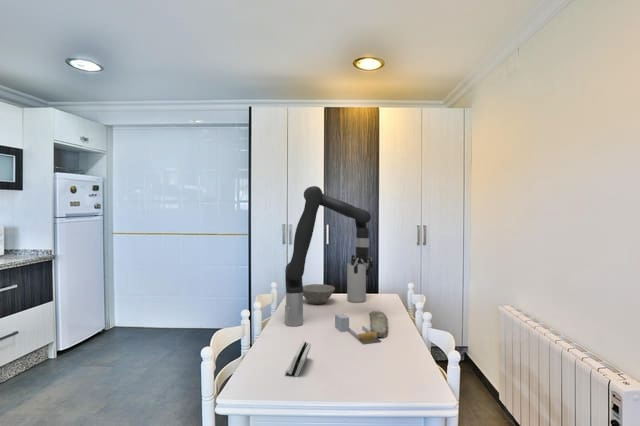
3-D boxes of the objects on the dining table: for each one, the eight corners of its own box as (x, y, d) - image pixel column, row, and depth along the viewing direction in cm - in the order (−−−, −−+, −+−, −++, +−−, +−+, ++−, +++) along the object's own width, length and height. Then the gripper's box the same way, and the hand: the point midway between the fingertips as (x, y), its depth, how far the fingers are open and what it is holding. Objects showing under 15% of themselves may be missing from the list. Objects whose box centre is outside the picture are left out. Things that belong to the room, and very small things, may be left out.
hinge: (294, 356, 143) (302, 334, 142) (305, 361, 142) (313, 339, 141) (284, 376, 126) (293, 351, 126) (295, 381, 126) (304, 356, 125)
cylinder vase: (368, 299, 235) (368, 263, 235) (360, 303, 224) (361, 265, 224) (352, 297, 241) (352, 261, 241) (344, 301, 231) (344, 264, 231)
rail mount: (363, 344, 156) (363, 338, 156) (347, 331, 173) (347, 325, 173) (380, 342, 159) (381, 335, 159) (363, 329, 176) (363, 323, 176)
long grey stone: (368, 340, 164) (389, 342, 163) (368, 329, 164) (390, 331, 163) (368, 314, 199) (386, 316, 197) (369, 305, 199) (386, 307, 197)
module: (340, 332, 172) (340, 318, 172) (334, 327, 180) (335, 313, 179) (349, 331, 173) (349, 317, 173) (342, 326, 181) (342, 313, 181)
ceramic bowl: (296, 299, 234) (296, 285, 234) (328, 297, 241) (328, 283, 241) (304, 308, 213) (304, 292, 213) (339, 305, 220) (339, 290, 220)
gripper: (348, 245, 196) (347, 273, 197) (367, 247, 186) (366, 277, 186) (357, 244, 201) (356, 272, 202) (376, 246, 191) (375, 275, 191)
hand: (361, 274), depth 194 cm, fingers open, 8 cm apart
